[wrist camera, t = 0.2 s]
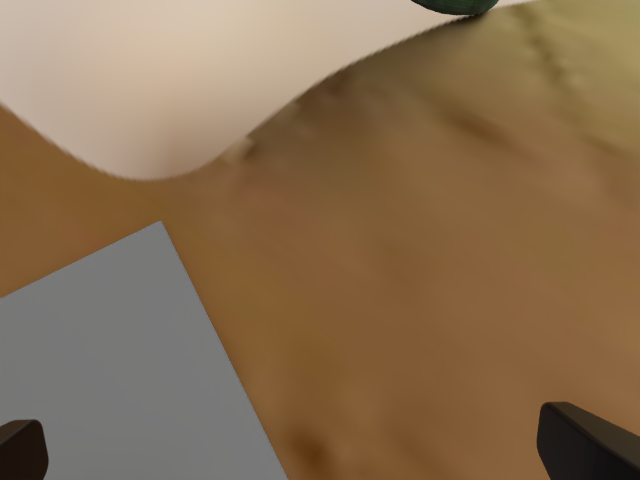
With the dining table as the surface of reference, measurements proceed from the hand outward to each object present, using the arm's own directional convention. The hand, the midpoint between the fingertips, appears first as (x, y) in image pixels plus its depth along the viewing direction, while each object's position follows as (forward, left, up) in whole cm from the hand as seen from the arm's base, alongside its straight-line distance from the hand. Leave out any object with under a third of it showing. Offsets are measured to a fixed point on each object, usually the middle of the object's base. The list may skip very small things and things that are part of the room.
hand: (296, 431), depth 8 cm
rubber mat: (+4, +9, -15) cm, 18 cm away
